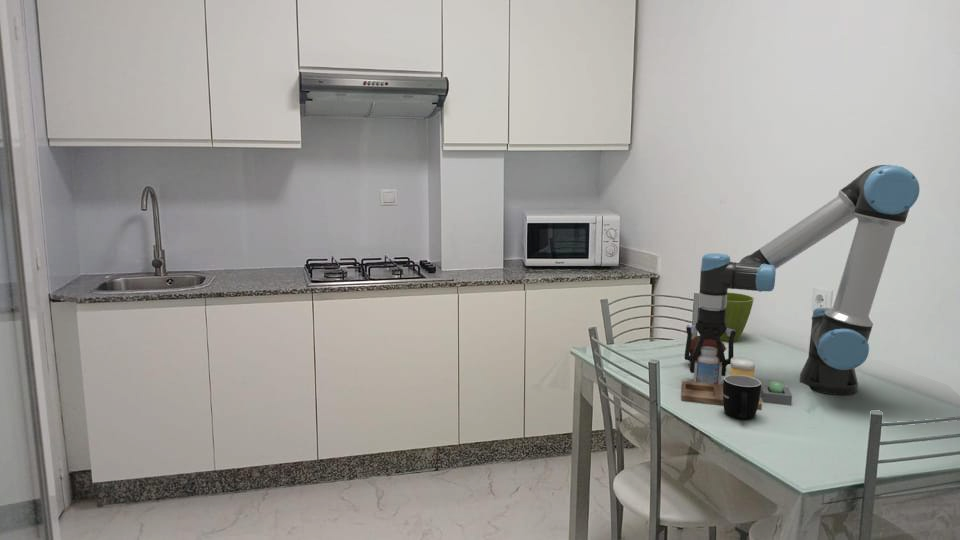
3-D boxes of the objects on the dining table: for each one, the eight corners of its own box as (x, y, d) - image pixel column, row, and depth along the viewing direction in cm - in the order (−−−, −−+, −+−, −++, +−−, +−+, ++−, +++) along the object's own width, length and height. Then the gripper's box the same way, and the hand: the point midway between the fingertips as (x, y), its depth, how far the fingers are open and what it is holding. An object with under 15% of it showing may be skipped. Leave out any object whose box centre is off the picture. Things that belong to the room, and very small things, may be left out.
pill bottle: (719, 390, 188) (721, 352, 186) (696, 388, 189) (699, 350, 187) (715, 382, 193) (718, 346, 191) (694, 381, 195) (697, 344, 193)
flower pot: (744, 334, 246) (747, 293, 243) (755, 346, 231) (758, 301, 228) (702, 332, 248) (705, 291, 245) (711, 344, 233) (714, 300, 230)
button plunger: (781, 394, 179) (782, 381, 179) (783, 398, 176) (784, 386, 175) (768, 392, 180) (769, 380, 180) (769, 396, 177) (770, 384, 176)
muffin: (722, 363, 212) (725, 333, 210) (726, 374, 201) (729, 342, 200) (684, 359, 215) (686, 330, 213) (686, 370, 204) (688, 339, 202)
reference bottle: (751, 396, 180) (754, 358, 178) (753, 404, 174) (756, 365, 172) (727, 394, 182) (730, 356, 180) (728, 402, 176) (731, 363, 174)
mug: (719, 409, 173) (722, 373, 172) (755, 413, 171) (758, 376, 169) (723, 427, 162) (726, 388, 160) (762, 431, 160) (765, 392, 158)
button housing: (787, 399, 181) (788, 387, 180) (790, 408, 174) (792, 396, 174) (759, 396, 183) (760, 384, 182) (762, 405, 176) (763, 393, 176)
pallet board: (756, 397, 182) (757, 388, 182) (760, 413, 171) (761, 404, 170) (681, 389, 188) (682, 380, 188) (681, 404, 177) (681, 395, 176)
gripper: (746, 307, 188) (740, 383, 192) (677, 302, 193) (673, 377, 197) (749, 313, 181) (742, 392, 185) (677, 308, 186) (672, 385, 190)
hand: (706, 384), depth 191 cm, fingers closed on pill bottle, 6 cm apart
